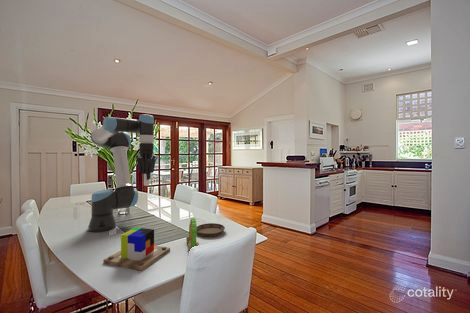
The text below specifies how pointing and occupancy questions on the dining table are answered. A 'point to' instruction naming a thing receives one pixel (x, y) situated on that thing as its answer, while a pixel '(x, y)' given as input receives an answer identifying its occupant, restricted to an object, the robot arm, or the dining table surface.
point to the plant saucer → (210, 229)
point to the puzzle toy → (137, 243)
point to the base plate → (136, 263)
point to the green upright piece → (192, 234)
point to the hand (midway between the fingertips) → (146, 185)
